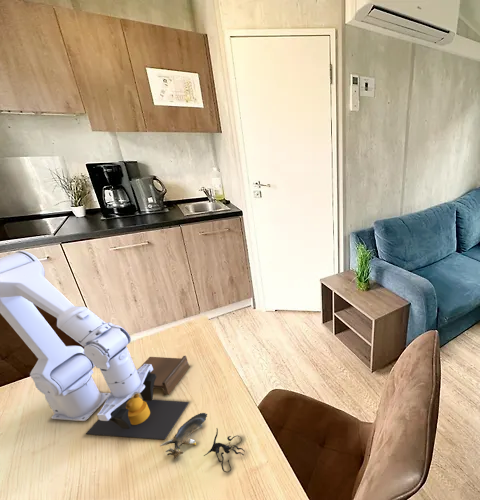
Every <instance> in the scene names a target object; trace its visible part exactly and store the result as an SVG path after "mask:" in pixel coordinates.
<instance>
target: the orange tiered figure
mask: <svg viewBox="0 0 480 500" xmlns="http://www.w3.org/2000/svg"><path fill="white" fill-rule="evenodd" d="M130 398H131V399H130V400H129V401H128V402H127V404H126V409H129V411H128V417H129V420H130V422H131V424H132V425H137V424H140V423H142V422H144V421H145V420H146V419H147V418H148V417H149V415H150V410H149V408H148V405H147V403H146V402H145V401H143V400H142V399H143V398H142V397H140V393H136V394H134V395H133V396H132V397H130Z"/></svg>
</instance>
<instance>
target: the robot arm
mask: <svg viewBox="0 0 480 500" xmlns="http://www.w3.org/2000/svg"><path fill="white" fill-rule="evenodd" d="M45 276H46V271H45V267H44V266H43V263H42V262H41V261H40V260H39V258H38V256H36V255H34V254H33V253H31V252H29V251H27V250H17V251H15V252H14V253H11V254H7V255H4V256H2V257H0V315H1V316H2V318H4V320H5V321H6V322H7V323H8V324H9V326H11V328H12V329H13V330H14V331H15V333H16V334H17V335H18V336H19V337H20V339H21V340H22V341H23V342H24V344H25V345H26V346H27V347H28V349H30V350H31V352H32V353H33V354H34V356H35V357H36V359H37V361H36V363H35V365H34V367H33V368H32V369H31V371H30V372H29V377H30V378H31V379H32V381H33V383H34V386H35V388H36V389H37V390H38V391H39V392H40V393H41V394H42V395H44V399H45V401H46V403H47V404H48V406H49V407H50V409H51V410H52V412H53V415H52V416H51V417H50V418H51V419H52V420H61V421H77V422H86V421H88V420H89V419H90V417H91V416H93V414H94V413H95V412H96V411H97V410H98V409H99V408H100V407H101V406H102V405H103V406H102V408H101V409H100V411H98V412H97V414H96V416H97V418H98V420H102V421H108V420H110V421H112V422H114V423H116V424H117V425H118V426H120V427H121V428H123V429H129V428H130V427H131V422H130V420H129V417H128V411H129V409H122V407H119V406H120V405H121V404H123V403H124V402H125V401H127V400H128V399H129V398H133V397H134V395H135V394H139V395H140V396H141V399H144V400H149V401H151V400H154V388H153V386H154V382H155V379H156V374H153V373H150V372H152V370H153V367H152V365H151V364H144V365H143V366H142V365H141V366H142V367H141V366H140V367H141V368H140V367H138V369H137V368H136V365H135V363H134V361H133V358H132V356H131V353H130V351H129V348H128V345H129V344H130V343H131V341H132V339H131V336H130V334H129V332H128V331H127V330H126V329H125V328H123V327H122V325H121V326H120V325H118V324H114V323H112V322H110V321H109V322H106V321H105V320H103V319H102V318H101V317H99V316H98V315H97V314H96V313H95V312H93V311H92V310H91V309H90V308H88V307H86V306H85V305H84V306H82V305H81V306H77V305H75V304H73V303H72V302H71V301H70V300H69V299H68V298H67V297H66V296H65V295H64V294H63V293H62V292H61V291H59V289H58V288H57V287H55V286H54V285H53V284H52V283H51V282H50V281H49V280H48V279H47V278H46V277H45ZM37 307H38V308H39V309H41V310H43V311H44V312H46V313H48V314H49V315H51V316H52V317H54V318H56V327H57V328H58V329H59V330H61V331H62V332H63V333H65V334H66V335H67V336H69V337H70V338H71V339H73V340H74V341H75V342H76V343H78V344H79V345H66V344H65V343H64V342H63V340H62V339H61V338H60V337H59V336H58V334H57V333H56V331H55V330H54V329H53V328H52V326H51V325H50V323H48V321H47V320H46V319H45V317H44V316H43V314H42V313H41V312H40V311H39V310H38V308H37ZM80 345H81V346H80ZM94 368H96V369H99V370H100V373H101V375H102V376H103V379H104V381H105V383H106V385H107V387H108V389H109V391H110V392H101V391H100V390H99V388H98V386H97V384H96V382H95V380H94V378H93V376H92V375H93V374H94Z"/></svg>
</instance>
